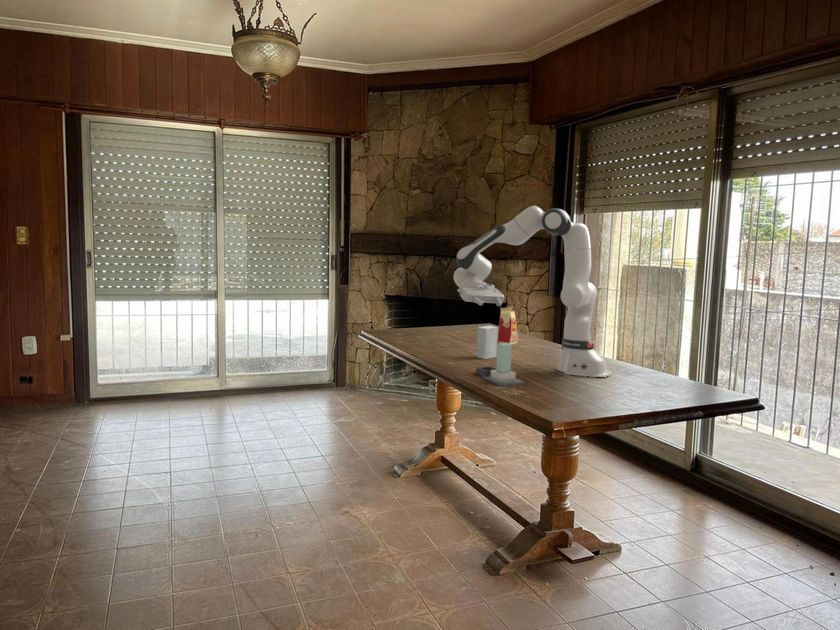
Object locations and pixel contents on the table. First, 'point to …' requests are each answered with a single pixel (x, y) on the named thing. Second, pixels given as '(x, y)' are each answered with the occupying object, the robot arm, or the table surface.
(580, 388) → the table surface
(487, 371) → the holster
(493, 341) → the skincare box
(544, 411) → the table surface
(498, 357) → the plug
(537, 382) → the table surface
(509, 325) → the milk carton
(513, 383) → the port panel
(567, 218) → the robot arm
